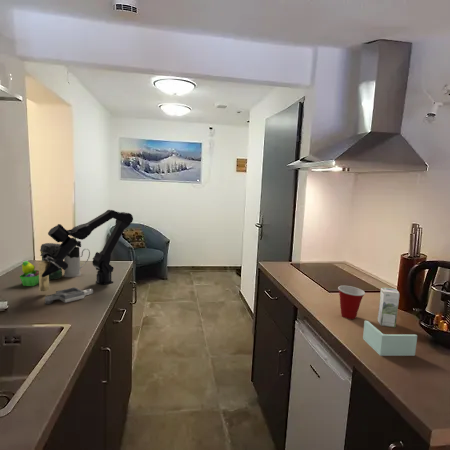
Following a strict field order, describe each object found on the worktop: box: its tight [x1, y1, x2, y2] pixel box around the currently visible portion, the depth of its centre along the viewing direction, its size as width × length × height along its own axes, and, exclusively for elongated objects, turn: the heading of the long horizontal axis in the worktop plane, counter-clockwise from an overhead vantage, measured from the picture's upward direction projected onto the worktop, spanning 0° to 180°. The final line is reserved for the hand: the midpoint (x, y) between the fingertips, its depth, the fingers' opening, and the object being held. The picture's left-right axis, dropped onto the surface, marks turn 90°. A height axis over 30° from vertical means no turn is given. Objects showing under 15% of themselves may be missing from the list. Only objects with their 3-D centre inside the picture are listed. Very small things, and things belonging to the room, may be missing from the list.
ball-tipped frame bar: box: [44, 286, 94, 305], centre depth 153 cm, size 21×9×3 cm, turn 141°
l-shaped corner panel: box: [362, 320, 418, 357], centre depth 118 cm, size 12×12×8 cm
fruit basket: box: [19, 260, 39, 287], centre depth 171 cm, size 11×9×11 cm
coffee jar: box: [39, 242, 63, 280], centre depth 181 cm, size 10×8×19 cm
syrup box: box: [377, 287, 400, 328], centre depth 137 cm, size 6×6×14 cm
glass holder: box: [63, 246, 91, 278], centre depth 190 cm, size 9×14×15 cm, turn 135°
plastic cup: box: [337, 285, 366, 320], centre depth 144 cm, size 11×11×12 cm
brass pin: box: [37, 260, 50, 292], centre depth 155 cm, size 4×4×13 cm
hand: (40, 275), depth 154 cm, fingers closed on brass pin, 4 cm apart
